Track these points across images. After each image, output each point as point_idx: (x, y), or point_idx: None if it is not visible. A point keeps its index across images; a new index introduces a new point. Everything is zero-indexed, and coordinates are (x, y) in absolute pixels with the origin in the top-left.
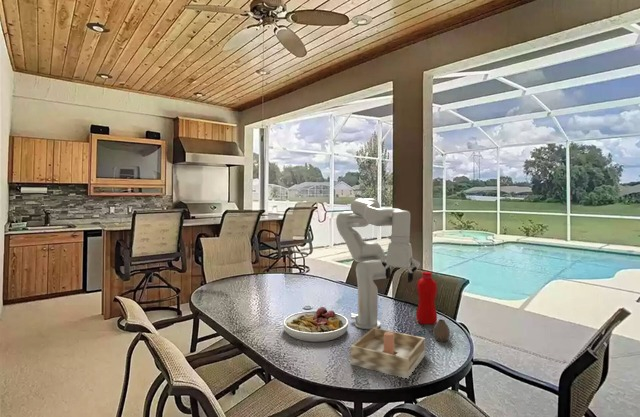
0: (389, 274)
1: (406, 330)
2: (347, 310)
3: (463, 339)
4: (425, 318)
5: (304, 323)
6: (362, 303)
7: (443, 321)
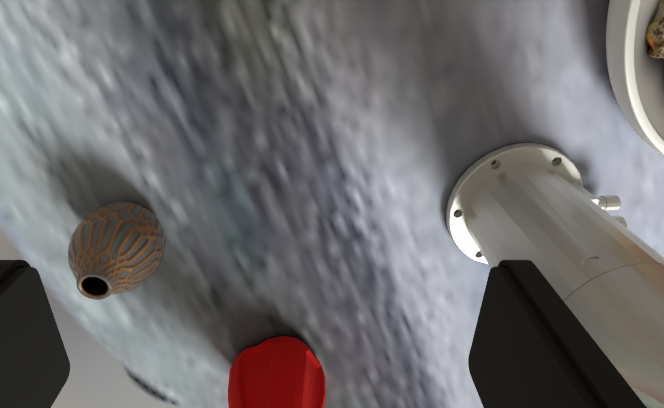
0: (501, 378)
1: (317, 241)
2: None
3: (57, 277)
4: (268, 359)
5: None
6: (610, 228)
7: (78, 278)
